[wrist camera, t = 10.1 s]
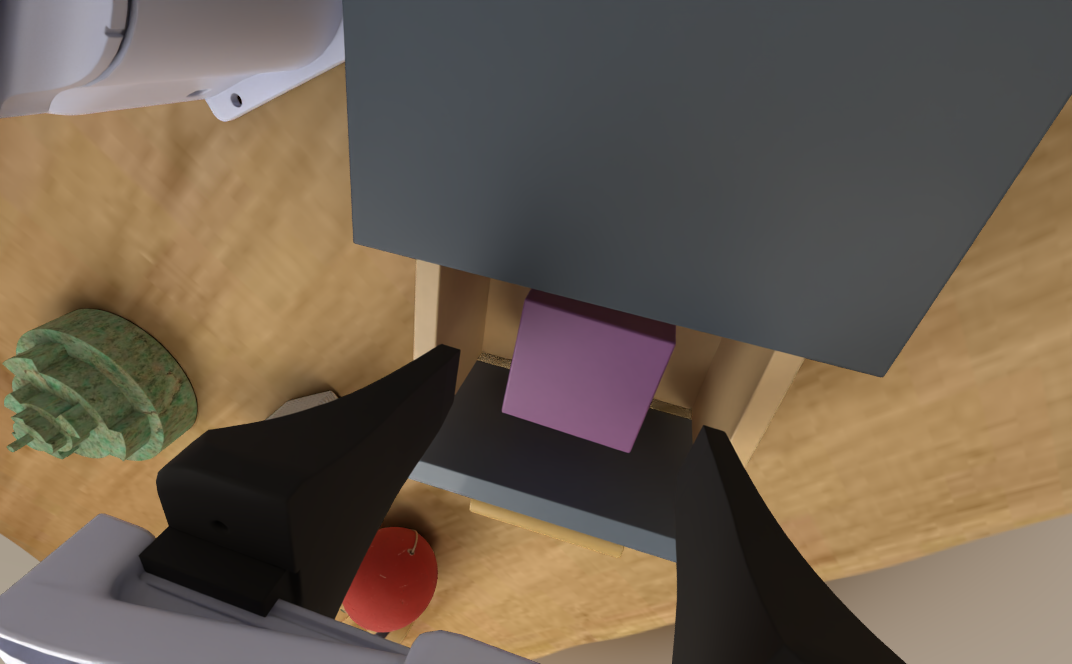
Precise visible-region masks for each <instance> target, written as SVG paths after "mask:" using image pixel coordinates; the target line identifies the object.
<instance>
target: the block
mask: <svg viewBox="0 0 1072 664" xmlns="http://www.w3.org/2000/svg"><path fill="white" fill-rule="evenodd" d="M675 346H676V325H673V324H669V323H665V322H661V321H658V320H654V319H650V318H646V317H642V316H638V315H634V314H630V313H626V312H622V311H618V310H614V309H610V308H606V307H603V306H599V305H595V304H591V303H587V302H583V301H579V300H575V299H571V298H567V297H563V296H559V295H555V294H551V293H548V292H544V291H540V290H536V289H532V288H531V290H530V291H529V293H528V295H527V296H526V298H525V300H524V305H523V310H522V314H521V319H520V324H519V329H518V333H517V338H516V343H515V348H514V353H513V357H512V362H511V367H510V372H509V376H508V381H507V386H506V391H505V396H504V400H503V405H502V412H503V413H506V414H509V415H512V416H515V417H518V418H522V419H525V420H528V421H531V422H534V423H537V424H540V425H543V426H546V427H549V428H553V429H556V430H559V431H562V432H565V433H568V434H571V435H574V436H577V437H580V438H583V439H587V440H590V441H593V442H596V443H599V444H602V445H605V446H608V447H611V448H614V449H617V450H621V451H624V452H627V453H630V452H631V450H632V447H633V445H634V443H635V440H636V438H637V435H638V433H639V431H640V428H641V426H642V424H643V421H644V419H645V417H646V414H647V412H648V409H649V407H650V405H651V402H652V400H653V398H654V395H655V393H656V391H657V388H658V386H659V384H660V381H661V379H662V376H663V374H664V372H665V369H666V367H667V365H668V362H669V360H670V358H671V355H672V353H673V350H674V348H675Z"/></svg>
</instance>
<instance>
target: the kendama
mask: <svg viewBox="0 0 1072 664" xmlns="http://www.w3.org/2000/svg"><path fill="white" fill-rule="evenodd" d="M437 575H438V570H437V562H436V558H435V555H434V552H433V550H432V548H431V547H430V545H429V544H428V542H427V541H426V540H425V539H424V538H423V537H422V536H421V535H419V534H418V533H417V531H416V530H413V529H407V528H403V527H387V528H382V529H379V530H378V531H377V533H376V535H375V537H374V539H373V541H372V543H371V545H370V547H369V549H368V551H367V553H366V555H365V557H364V559H363V561H362V563H361V565H360V567H359V569H358V571H357V573H356V575H355V577H354V580H353V582H352V584H351V586H350V588H349V590H348V592H347V594H346V596H345V598H344V600H343V603H342V605H341V607H340V609H339V611H338V613H337V616H336V618H335V620H337V621H339V622H342V621H344V620H345V619H346V618H347V617H348V616H350V618H351V619H352V620H353V621H354V622H356V623H357V624H358V625H360V626H361V627H363V628H365V629H367V631H368V632H369V633H371V634H374V635H377V636H379V637H382V638H385V639H387V640H390V641H393V642H395V643H398V644H400V643H401V642H402V641H403V640H404V638H405V637H406V636H407V634H408V632H409V631H410V629H411V627H412V625H413V623H414V621H415V620H416V619H417V618H418V617H419V616H420V615H421V614H422V613H423V612H424V610H425V609H426V608H427V606H428V604H429V603H430V601H431V599H432V597H433V594H434V592H435V588H436V584H437V579H438V577H437Z"/></svg>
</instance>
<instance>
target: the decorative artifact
mask: <svg viewBox="0 0 1072 664" xmlns="http://www.w3.org/2000/svg"><path fill="white" fill-rule="evenodd" d="M2 364H3V365H4V366H5V367H7V368H8V369H9V370H10V371H11V372H12V373H13V374H14V375H15V377H14V379H13V382H12V388H13V392H12V393H10V394H8V395H7V396H6V397H5V400H4V406H5V407H7V408H9V409H10V410H12V411H14V412H16V413H17V414H16V415H14V416H12V417H11V419H12V420H13V421H14V422H15V423H14V424H13V429H14V432H13V433H12V434H13V436H14V437H15V438H16V439H17V440H16V441H14V442H13V443H11V444H9V445H8V446H7V448H8V450H10V451H11V452H15V451H17V450H18V449H20V448H21V447H23V446H25V445H26V444H27V445H28V446H30V447H31V448H33V449H35V450H38V451H45V452H47V453H49V454H51V455H53V456H55V457H57V458H60V459H64V458H65V457H68V456H69V455H71V454H72V453H76V454H79V455H82V456H85V457H89V458H103V457H106V456H108V455H109V454H110V455H112V456H115V457H118V458H120V459H121V460H122V461H124V460H134V461H142V460H147V459H151V458H153V457H155V456H156V455H157V454H158V453H160V452H161V451H162V450H163V449H165V448H166V447H167V446H169V445H170V444H171V443H172V442H174V441H175V440H176V439H177V438H179V437H180V436H181V435H182V434H184V433H185V432H186V431H187V430H189V429H190V428H191V427H192V425H193V424H194V422H195V419H196V415H197V403H196V398H195V394H194V391H193V389H192V386H191V384H190V382H189V380H188V378H187V377H186V375H185V373H184V372H183V370H182V369H181V367H180V366H179V365H178V363H177V362H176V361H175V360H174V358H173V357H172V356H171V355H170V354H169V353H168V352H167V351H166V350H165V349H164V348H163V347H162V346H161V345H160V344H159V343H158V342H157V341H156V340H155V339H154V338H152V337H151V336H150V335H149V334H147V333H146V332H145V331H143V330H142V329H140V328H139V327H137V326H136V325H134V324H132V323H131V322H129V321H127V320H125V319H123V318H121V317H119V316H117V315H114V314H112V313H109V312H105V311H102V310H96V309H79V310H75V311H73V312H70V313H68V314H66V315H64V316H62V317H59V318H57V319H55V320H53V321H50V322H48V323H46V324H44V325H42V326H39V327H37V328H35V329H33V330H30V331H28V332H27V333H25V334H24V335H23V336H21V338H20V339H19V341H18V343H17V348H16V356H14V357H12V358H10V359H8V360H6V361H4V362H3V363H2Z"/></svg>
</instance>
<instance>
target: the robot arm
mask: <svg viewBox="0 0 1072 664" xmlns="http://www.w3.org/2000/svg"><path fill="white" fill-rule="evenodd" d="M343 62H345V49H344V27H343V5H342V0H0V118H7V117H15V116H24V115H32V114H41V113H51V114H59V115H81V114H90V113H98V112H106V111H114V110H122V109H129V108H137V107H145V106H153V105H161V104H169V103H177V102H185V101H193V100H200V99H205V100H206V102H207V103H208V105H209V107H210V108H211V110H212V112H213V113H214V115H215V116H216V117H217V118H218V119H219V120H221V121H224V122H225V121H231V120H234V119H236V118H238V117H240V116H242V115H244V114H246V113H248V112H250V111H252V110H253V109H255V108H257V107H259V106H261V105H263V104H265V103H267V102H269V101H271V100H273V99H274V98H276V97H278V96H280V95H282V94H284V93H286V92H288V91H290V90H292V89H294V88H296V87H297V86H299V85H301V84H303V83H305V82H307V81H309V80H311V79H313V78H315V77H317V76H319V75H320V74H322V73H324V72H326V71H328V70H330V69H332V68H334V67H336V66H338V65H340V64H342V63H343ZM238 95H239V96H240V98H241V100H242V105H241V104H240V102H239V100H238ZM460 352H461V350H460V349H457V348H454V347H450V346H447V345H444V344H440V345H438V346H436V347H435V348H433V349H431V350H430V351H428V352H426V353H425V354H423V355H422V356H420V357H418V358H417V359H415V360H413V361H412V362H410V363H408V364H407V365H405V366H403V367H401V368H400V369H398V370H396V371H394V372H393V373H391V374H389V375H387V376H386V377H384V378H382V379H380V380H378V381H376V382H374V383H372V384H370V385H368V386H366V387H364V388H362V389H360V390H357V391H355V392H353V393H351V394H348V395H346V396H343V397H341V398H338V399H336V400H333V401H330V402H328V403H325V404H321V405H318V406H315V407H312V408H309V409H306V410H303V411H299V412H296V413H293V414H289V415H285V416H281V417H277V418H273V419H268V420H264V421H259V422H254V423H249V424H243V425H237V426H231V427H225V428H219V429H212V430H208V431H206V432H205V433H204V434H202V435H201V436H200V437H199V438H197V439H196V440H195V441H193V442H192V443H191V444H190V445H189V446H188V447H186V448H185V449H184V450H183V451H182V452H181V453H179V454H178V455H177V456H176V457H175V458H174V459H172V460H171V461H170V462H169V463H168V464H166V465H165V466H164V467H163V468H162V469H161V470H160V471H159V472H158V475H157V479H156V485H157V491H158V495H159V498H160V501H161V504H162V507H163V510H164V513H165V516H166V519H167V522H168V525H169V527H168V528H166V529H165V530H164V531H163V532H162V533H161V534H160V535H159V536H158V537H157V538H155V536H154V535H153V534H151V533H150V532H149V531H148V530H146V529H144V528H142V527H140V526H137V525H134V524H132V523H129V522H126V521H123V520H121V519H118V518H115V517H113V516H110V515H107V514H98V515H97V516H96V517H95V518H93V519H92V520H91V521H90V522H89V523H87V524H86V525H85V526H84V527H82V528H81V529H80V530H79V531H78V532H76V533H75V534H74V535H73V536H72V537H70V538H69V539H68V540H67V541H66V542H64V543H63V544H62V545H61V546H59V547H58V548H57V549H56V550H55V551H53V552H52V553H51V554H50V555H49V556H47V557H46V558H45V559H44V560H43V561H41V562H40V563H39V564H38V565H37V566H35V567H34V568H33V569H32V570H30V571H29V572H28V573H27V574H26V575H24V576H23V577H22V578H21V579H20V580H19V581H17V582H16V583H15V584H13V585H12V586H11V587H10V588H9V589H8V590H6V591H5V592H4V593H3V594H1V595H0V657H1V659H2V660H3V661H4V662H5V663H6V664H540V663H537V662H534V661H532V660H529V659H526V658H524V657H521V656H518V655H515V654H513V653H510V652H507V651H505V650H502V649H499V648H497V647H494V646H491V645H488V644H486V643H483V642H480V641H478V640H475V639H472V638H469V637H467V636H464V635H461V634H457V633H452V632H448V631H443V630H438V631H431V632H425V633H422V634H420V635H419V636H418V637H417V639H416V640H415V641H414V643H413V644H412V646H411V648H409V647H406V646H403V645H401V644H398V643H395V642H393V641H390V640H387V639H385V638H382V637H379V636H377V635H374V634H371V633H369V632H366V631H363V630H361V629H358V628H355V627H353V626H350V625H347V624H345V623H342V622H339V621H337V620H335V618H336V616H337V613H338V611H339V609H340V607H341V605H342V603H343V600H344V598H345V596H346V594H347V592H348V590H349V588H350V586H351V584H352V582H353V580H354V577H355V575H356V573H357V571H358V569H359V567H360V565H361V563H362V561H363V559H364V557H365V555H366V553H367V551H368V549H369V547H370V545H371V543H372V541H373V539H374V537H375V535H376V533H377V531H378V529H379V527H380V526H381V524H382V522H383V520H384V518H385V516H386V514H387V512H388V510H389V508H390V507H391V505H392V503H393V501H394V499H395V498H396V496H397V494H398V493H399V491H400V489H401V488H402V486H403V485H404V483H405V482H406V480H407V479H408V477H409V476H410V474H411V473H412V471H413V470H414V468H415V467H416V465H417V464H418V462H419V461H420V459H421V458H422V456H423V455H424V453H425V452H426V450H427V449H428V447H429V446H430V444H431V443H432V441H433V440H434V438H435V437H436V435H437V434H438V432H439V431H440V429H441V427H442V425H443V423H444V421H445V419H446V417H447V415H448V413H449V411H450V409H451V407H452V404H453V402H454V396H455V389H456V381H457V374H458V367H459V360H460ZM675 539H676V565H677V606H676V621H675V635H674V646H673V658H672V664H906V663H905V662H904V661H903V660H902V659H901V658H900V657H898V656H897V655H896V654H895V653H894V652H893V651H892V650H891V649H890V648H888V647H887V646H886V645H885V644H884V643H883V642H882V641H881V640H880V639H878V638H877V637H876V636H875V635H874V634H873V633H872V632H871V631H870V630H869V629H868V628H867V627H866V626H865V625H864V624H863V623H862V622H861V621H860V620H859V619H858V618H857V617H856V616H855V615H854V614H853V613H852V612H851V611H850V610H849V609H848V608H847V607H846V606H845V605H844V604H843V603H842V601H841V600H840V599H839V598H838V597H837V596H836V595H835V594H834V593H833V592H832V591H831V589H830V588H829V587H828V586H827V585H826V584H825V583H824V582H823V580H822V579H821V578H820V577H819V576H818V575H817V574H816V572H815V571H814V570H813V569H812V568H811V566H810V565H809V564H808V563H807V562H806V560H805V559H804V558H803V556H802V555H801V554H800V553H799V551H798V550H797V549H796V547H795V546H794V545H793V543H792V542H791V541H790V539H789V538H788V537H787V535H786V534H785V533H784V531H783V530H782V528H781V527H780V525H779V524H778V522H777V521H776V519H775V518H774V516H773V515H772V513H771V512H770V510H769V509H768V507H767V506H766V504H765V502H764V501H763V499H762V497H761V496H760V494H759V493H758V491H757V489H756V487H755V486H754V484H753V482H752V480H751V479H750V477H749V475H748V473H747V472H746V470H745V468H744V466H743V464H742V462H741V461H740V459H739V457H738V455H737V453H736V451H735V449H734V447H733V445H732V444H731V442H730V440H729V438H728V436H727V434H726V432H725V431H722V430H719V429H715V428H712V427H709V426H706V425H703V426H702V428H701V430H700V432H699V434H698V436H697V438H696V440H695V442H694V444H693V446H692V448H691V450H690V451H689V453H688V455H687V457H686V459H685V461H684V463H683V465H682V467H681V469H680V471H679V473H678V477H677V486H676V496H675Z"/></svg>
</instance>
